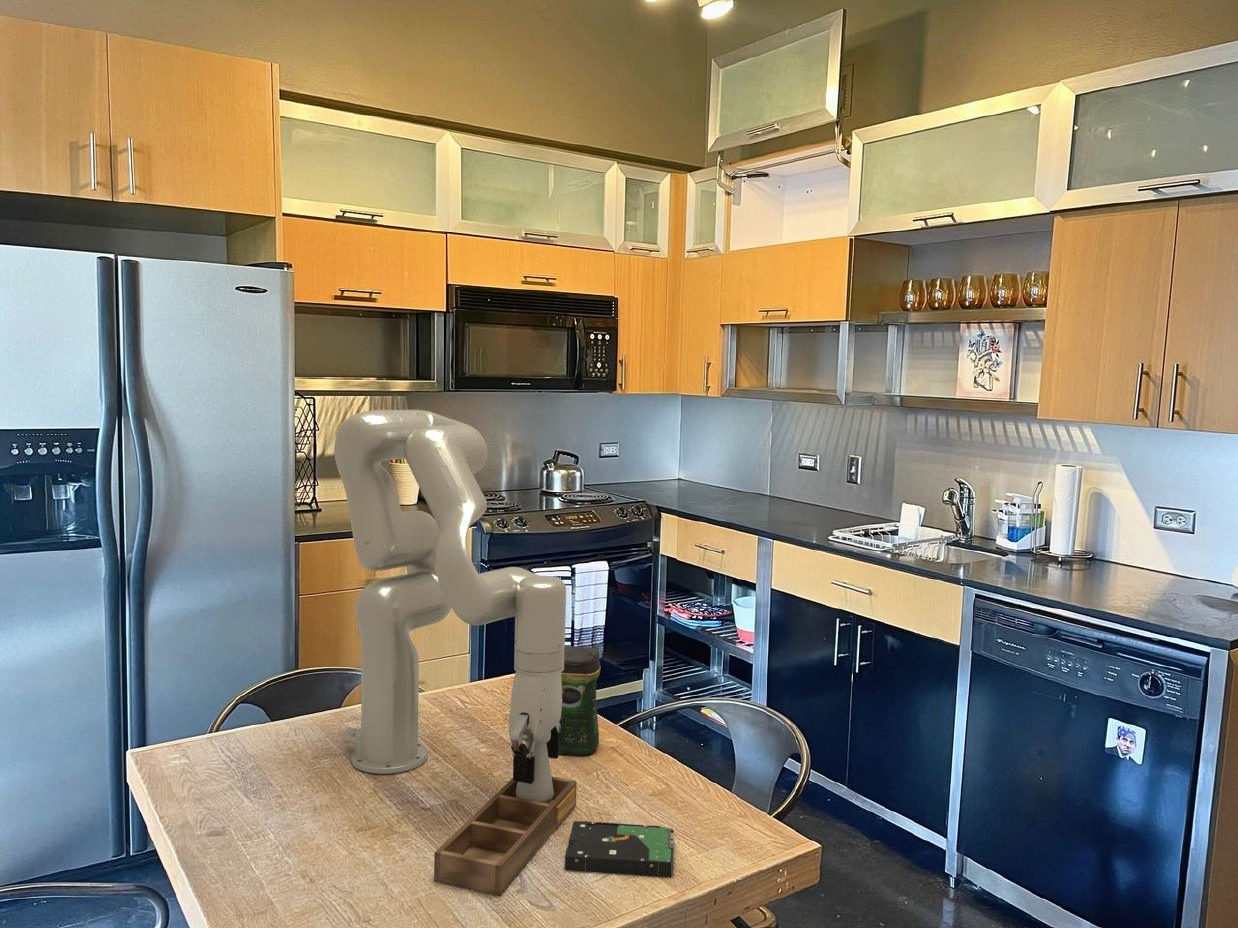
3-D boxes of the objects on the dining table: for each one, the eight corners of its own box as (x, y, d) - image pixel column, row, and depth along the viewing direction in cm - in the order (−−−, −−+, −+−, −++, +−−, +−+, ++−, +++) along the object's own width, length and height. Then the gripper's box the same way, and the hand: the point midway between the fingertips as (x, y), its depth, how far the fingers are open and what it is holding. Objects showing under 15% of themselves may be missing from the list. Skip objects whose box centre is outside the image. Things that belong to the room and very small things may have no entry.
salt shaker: (547, 818, 138) (549, 733, 137) (510, 814, 139) (512, 729, 138) (557, 802, 144) (560, 720, 143) (522, 797, 145) (524, 716, 144)
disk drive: (564, 875, 125) (673, 880, 125) (564, 856, 125) (674, 861, 124) (572, 838, 136) (673, 842, 135) (572, 819, 135) (673, 824, 135)
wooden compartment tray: (434, 881, 122) (434, 852, 121) (519, 794, 147) (520, 770, 147) (502, 896, 119) (503, 866, 118) (577, 805, 144) (578, 781, 144)
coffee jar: (601, 741, 170) (604, 643, 168) (593, 758, 162) (597, 655, 161) (550, 736, 172) (553, 639, 170) (540, 753, 164) (542, 651, 162)
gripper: (539, 641, 149) (536, 744, 150) (491, 672, 132) (488, 788, 134) (582, 646, 146) (579, 751, 148) (539, 679, 130) (536, 796, 131)
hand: (536, 768), depth 141 cm, fingers open, 9 cm apart
